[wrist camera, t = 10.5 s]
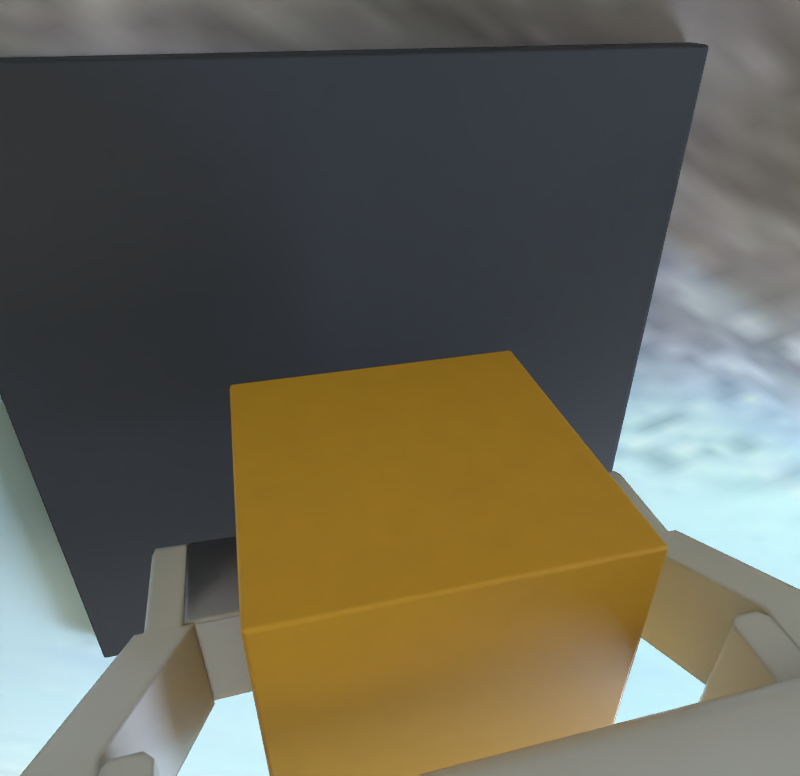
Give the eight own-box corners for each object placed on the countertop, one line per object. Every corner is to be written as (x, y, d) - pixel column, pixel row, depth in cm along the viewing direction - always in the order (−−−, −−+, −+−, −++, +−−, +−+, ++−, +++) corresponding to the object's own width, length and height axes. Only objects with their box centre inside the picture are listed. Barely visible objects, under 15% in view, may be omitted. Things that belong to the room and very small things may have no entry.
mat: (691, 42, 13) (710, 44, 12) (582, 548, 20) (591, 562, 20) (-115, 60, 10) (-133, 64, 9) (106, 639, 17) (104, 659, 17)
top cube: (511, 348, 12) (671, 547, 8) (490, 545, 14) (600, 770, 10) (228, 383, 11) (239, 633, 7) (262, 588, 13) (285, 856, 9)
